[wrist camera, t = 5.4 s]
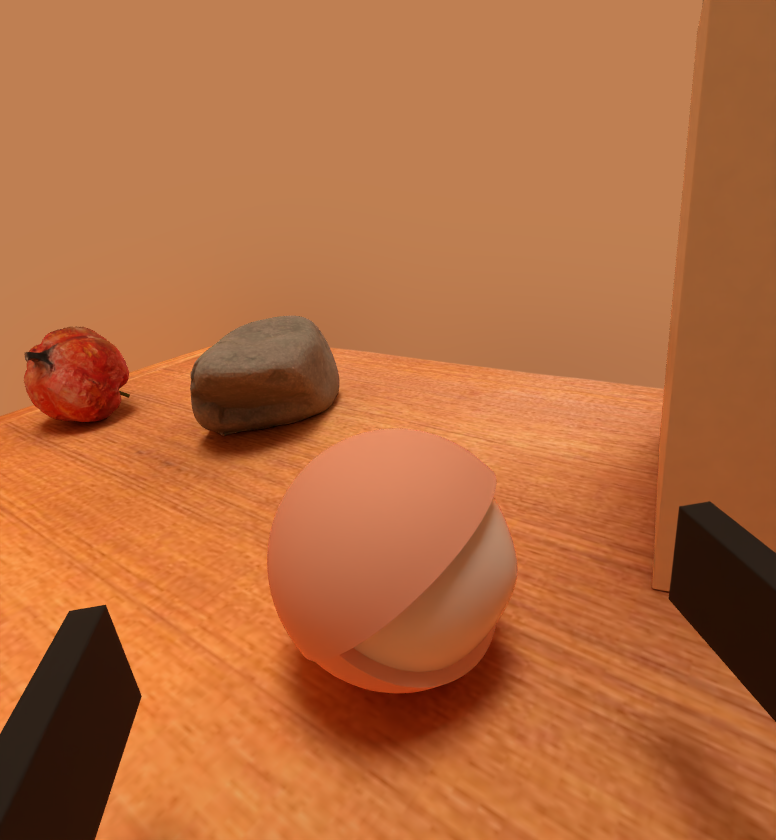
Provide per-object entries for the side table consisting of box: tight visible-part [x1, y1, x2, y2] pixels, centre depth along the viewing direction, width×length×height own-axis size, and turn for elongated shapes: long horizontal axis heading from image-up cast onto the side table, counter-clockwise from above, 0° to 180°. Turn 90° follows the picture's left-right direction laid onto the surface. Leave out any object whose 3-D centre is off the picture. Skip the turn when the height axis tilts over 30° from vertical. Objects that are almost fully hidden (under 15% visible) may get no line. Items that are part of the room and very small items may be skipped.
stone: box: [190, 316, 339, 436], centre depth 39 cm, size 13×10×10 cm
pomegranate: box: [24, 327, 130, 422], centre depth 43 cm, size 7×7×10 cm
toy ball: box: [267, 429, 517, 693], centre depth 18 cm, size 8×8×8 cm
